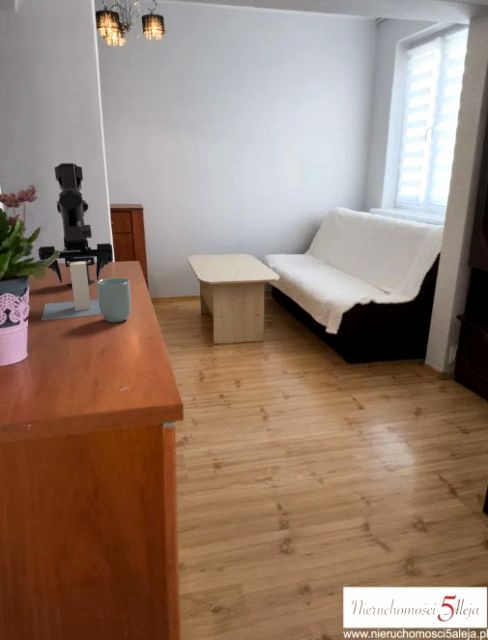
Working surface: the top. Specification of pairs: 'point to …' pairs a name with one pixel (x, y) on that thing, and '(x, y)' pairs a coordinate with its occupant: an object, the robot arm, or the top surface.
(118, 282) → the cup
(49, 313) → the slate mat
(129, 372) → the top surface
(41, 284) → the top surface
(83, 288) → the block
